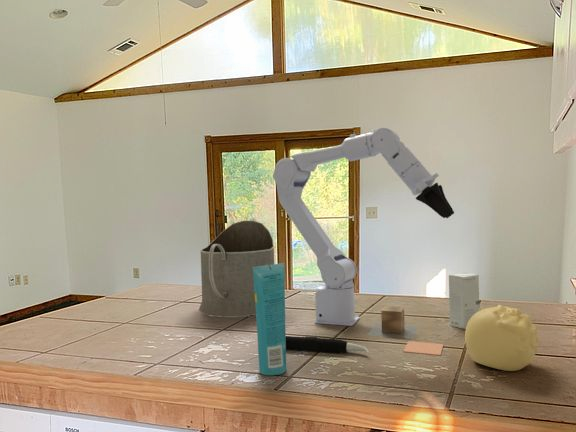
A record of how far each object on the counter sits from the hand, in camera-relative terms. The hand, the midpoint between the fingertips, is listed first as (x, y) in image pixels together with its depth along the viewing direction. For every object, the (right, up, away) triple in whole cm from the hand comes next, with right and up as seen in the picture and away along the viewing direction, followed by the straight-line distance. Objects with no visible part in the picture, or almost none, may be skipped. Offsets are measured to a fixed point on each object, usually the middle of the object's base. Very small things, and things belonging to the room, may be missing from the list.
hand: (449, 215), depth 105 cm
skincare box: (+6, -26, +6) cm, 28 cm away
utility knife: (-30, -28, -10) cm, 43 cm away
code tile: (-12, -27, +3) cm, 29 cm away
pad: (-9, -27, -11) cm, 30 cm away
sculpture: (+2, -27, -21) cm, 34 cm away
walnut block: (-12, -26, +3) cm, 29 cm away
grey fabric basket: (-51, -27, +28) cm, 64 cm away
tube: (-39, -28, -21) cm, 52 cm away
